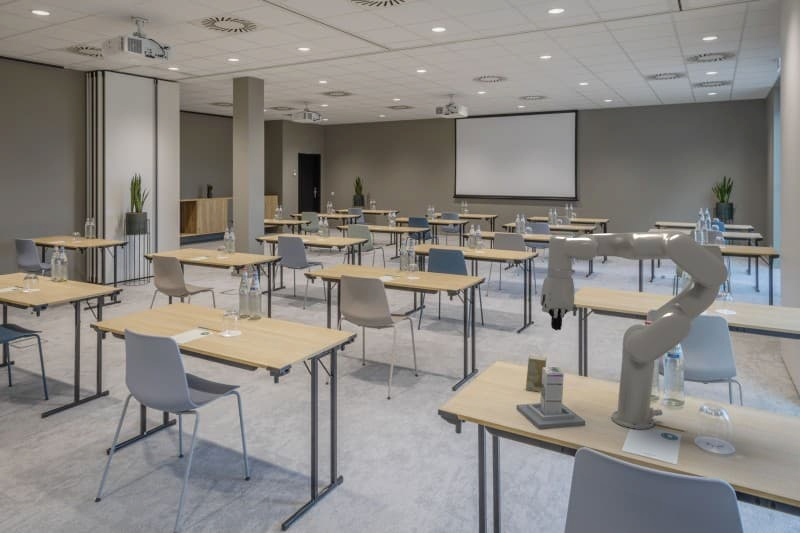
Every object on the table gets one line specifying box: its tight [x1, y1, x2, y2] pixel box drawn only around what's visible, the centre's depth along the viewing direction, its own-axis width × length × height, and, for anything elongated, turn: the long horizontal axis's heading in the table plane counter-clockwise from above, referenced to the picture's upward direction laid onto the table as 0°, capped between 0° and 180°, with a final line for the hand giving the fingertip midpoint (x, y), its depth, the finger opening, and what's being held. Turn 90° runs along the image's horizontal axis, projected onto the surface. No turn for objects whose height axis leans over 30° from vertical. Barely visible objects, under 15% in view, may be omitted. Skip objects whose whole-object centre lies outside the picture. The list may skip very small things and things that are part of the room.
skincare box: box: [525, 354, 547, 393], centre depth 213 cm, size 6×4×12 cm
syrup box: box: [539, 366, 565, 416], centre depth 188 cm, size 6×6×14 cm
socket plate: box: [515, 402, 587, 430], centre depth 189 cm, size 16×16×3 cm
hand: (556, 328), depth 191 cm, fingers closed
